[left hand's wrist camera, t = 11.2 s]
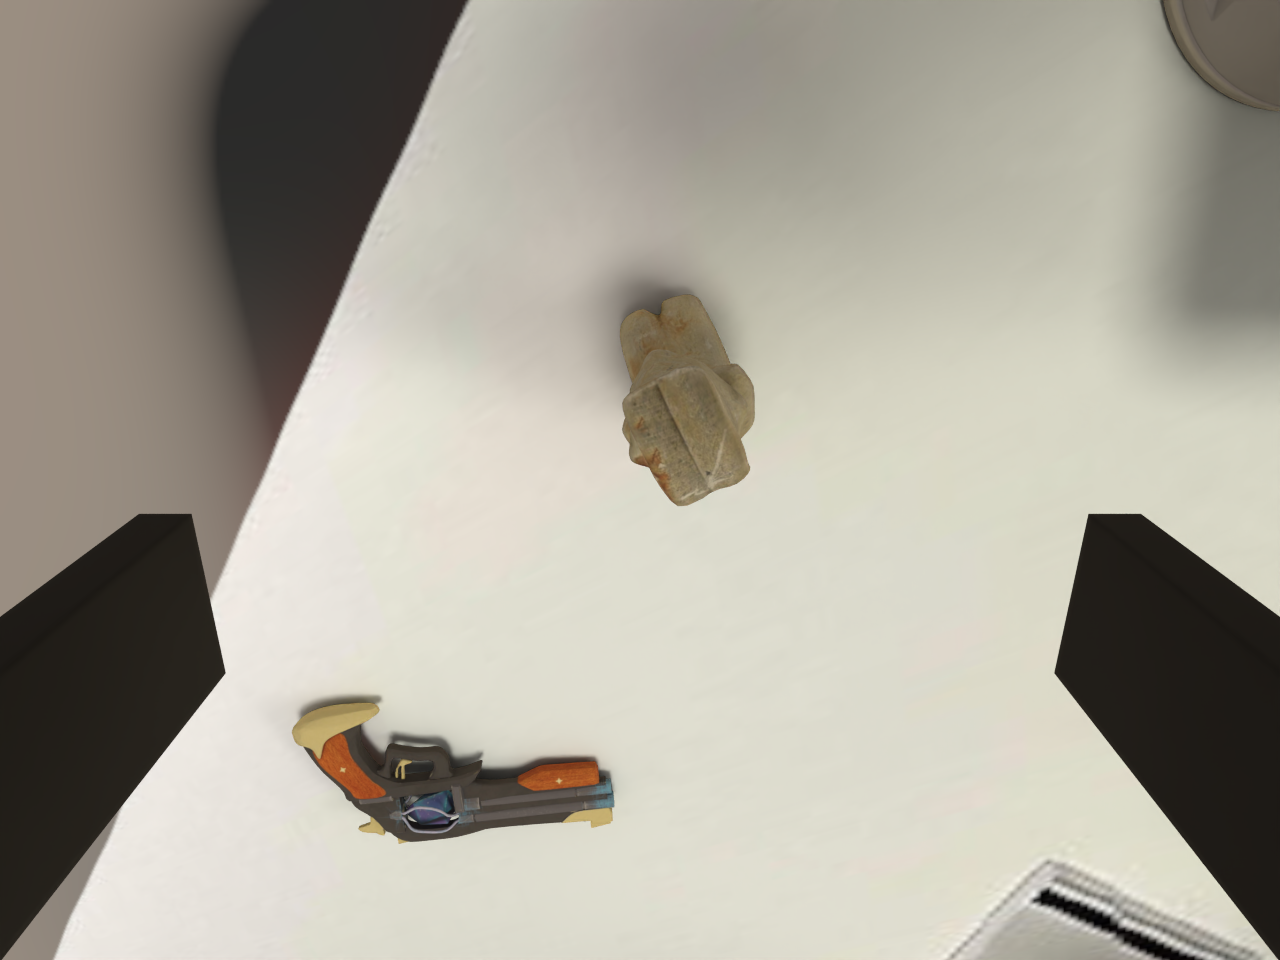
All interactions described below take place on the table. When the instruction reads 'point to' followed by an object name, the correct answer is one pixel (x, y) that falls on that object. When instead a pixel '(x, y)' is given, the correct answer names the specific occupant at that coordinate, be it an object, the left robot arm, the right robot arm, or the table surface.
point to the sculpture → (684, 401)
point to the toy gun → (444, 784)
